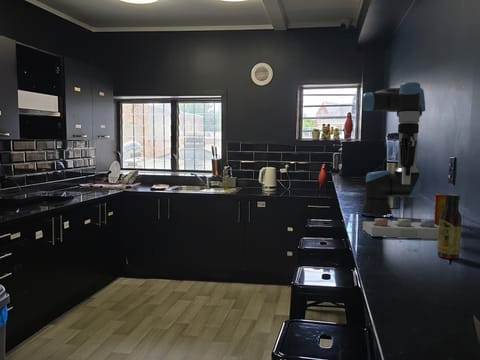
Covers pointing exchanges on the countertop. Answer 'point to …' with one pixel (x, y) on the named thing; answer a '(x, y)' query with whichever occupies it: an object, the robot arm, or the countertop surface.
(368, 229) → the button console
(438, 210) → the baking soda box
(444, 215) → the sauce bottle
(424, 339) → the countertop surface
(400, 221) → the sage button
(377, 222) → the terracotta button
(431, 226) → the slate button
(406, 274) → the countertop surface
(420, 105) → the robot arm
